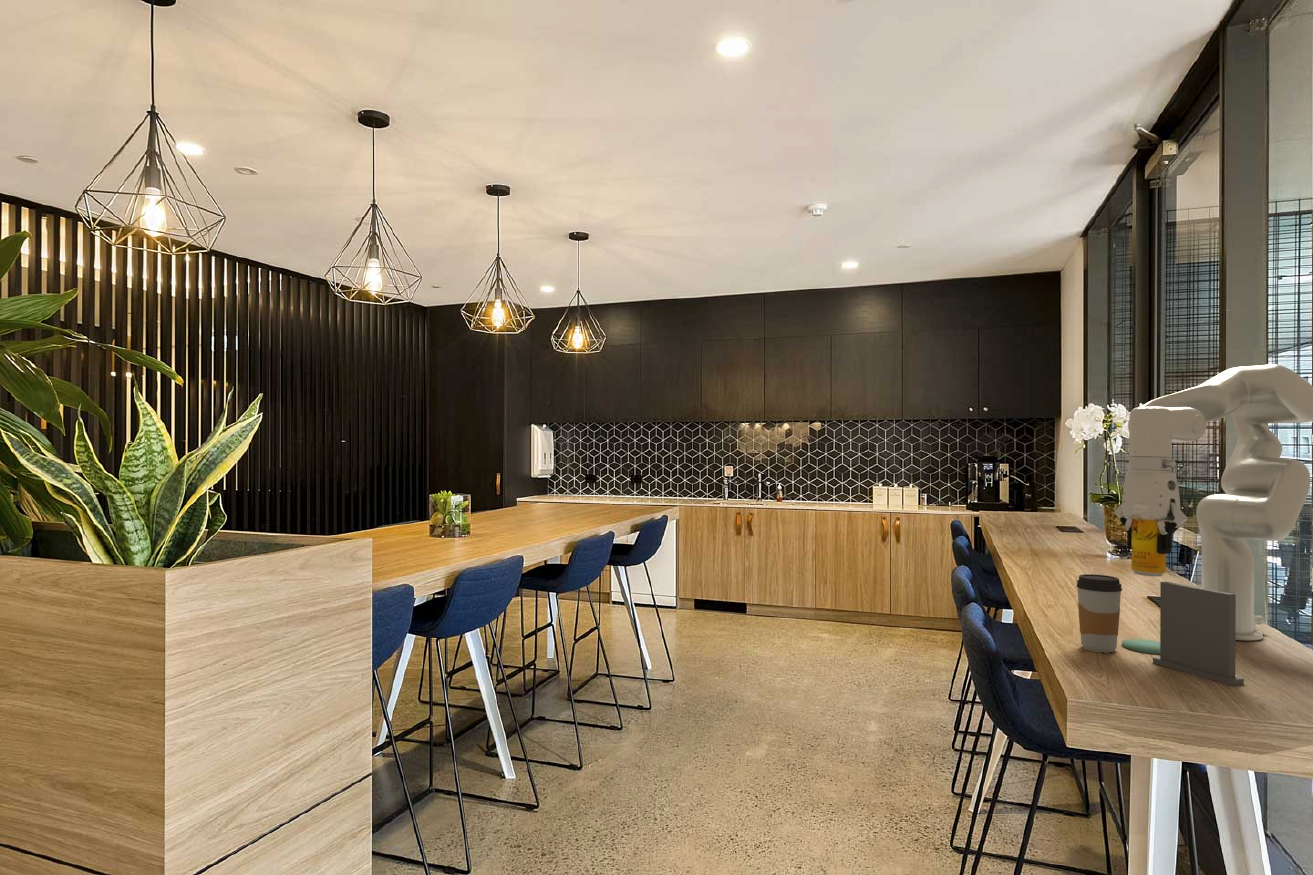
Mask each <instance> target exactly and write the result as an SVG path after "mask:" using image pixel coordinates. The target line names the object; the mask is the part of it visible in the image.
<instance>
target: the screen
mask: <svg viewBox="0 0 1313 875" xmlns="http://www.w3.org/2000/svg"><path fill="white" fill-rule="evenodd" d="M1159 584H1160V585H1159V586H1160V587H1159V588H1160V589H1159V590H1160V596H1159V598H1160V601H1159V603H1160V606H1159V608H1160V611H1159V612H1160V614H1159V615H1160V618H1159V621H1160V624H1159V625H1160V628H1159V630H1160V631H1159V632H1160V633H1159V634H1160V636H1159V638H1160V640H1159V642H1160V655H1159V656H1155V657H1152V663H1153V664H1156V665H1158V666H1163V667H1165V668H1169V669H1174V670H1175V671H1176V670H1177V671H1180V672H1183V673H1187V674H1191V675H1193V676H1198V677H1200V678H1204V679H1206V680H1210V681H1214V682H1218V683H1220V684H1224V685H1228V686H1232V687H1234V686H1241V684H1242V685H1244V684H1245V679H1244V677H1240V676H1236V640H1235V639H1236V594H1232V593H1227V592H1221V591H1216V590H1210V589H1205V588H1202V587H1199V586H1192V585H1187V584H1184V583H1183V584H1182V583H1177V582H1171V581H1160V583H1159Z"/></svg>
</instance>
